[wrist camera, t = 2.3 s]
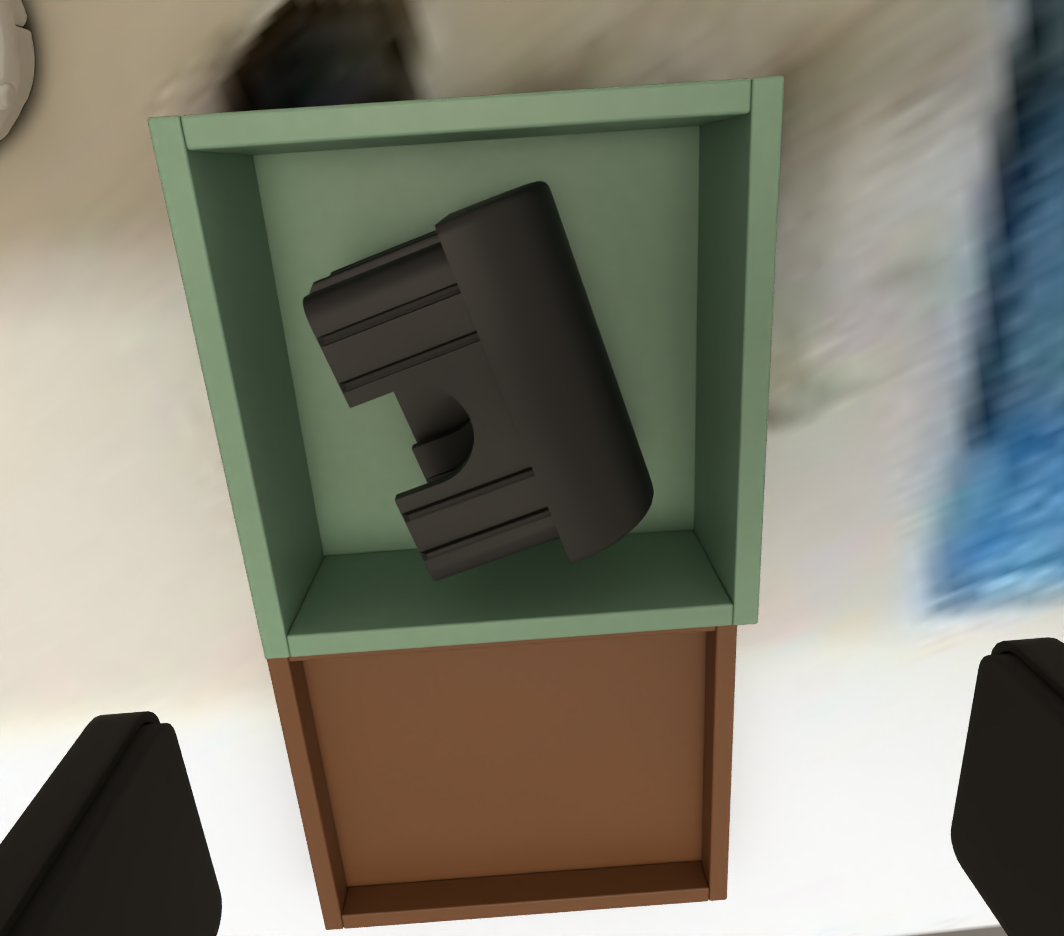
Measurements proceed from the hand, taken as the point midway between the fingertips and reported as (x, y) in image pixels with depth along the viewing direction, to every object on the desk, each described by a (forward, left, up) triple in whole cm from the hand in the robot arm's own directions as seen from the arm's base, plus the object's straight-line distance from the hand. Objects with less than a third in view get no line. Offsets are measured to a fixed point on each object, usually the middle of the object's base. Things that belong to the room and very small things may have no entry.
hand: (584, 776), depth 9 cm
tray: (+2, +16, -20) cm, 26 cm away
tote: (+1, -1, -20) cm, 20 cm away
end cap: (+1, -1, -19) cm, 19 cm away
